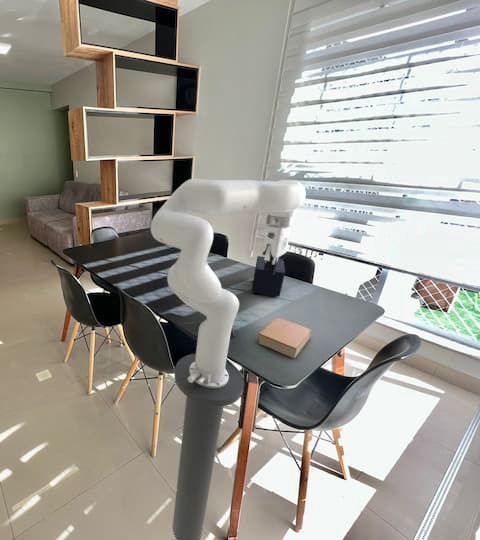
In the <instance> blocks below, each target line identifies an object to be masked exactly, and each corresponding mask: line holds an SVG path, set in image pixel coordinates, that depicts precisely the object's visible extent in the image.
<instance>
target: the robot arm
mask: <svg viewBox="0 0 480 540" xmlns="http://www.w3.org/2000/svg"><path fill="white" fill-rule="evenodd" d="M305 199H306V189H305V187H304V186H303V184H301V182H300V181H298V180H292V179H291V180H289V179H280V180H256V179H255V180H254V179H253V180H252V179H206V178H205V179H204V178H189V179H187V180H186V181H185V182H183V183H182V184H180V186H178V188H176V189H175V190H174V191H173V193H172V194H171V195H170V196H169V197H168V198H167V200H166V201H165V202H164V203H163V205H161V207H160V208H159V209H158V210H157V212H156V213H155V214H154V216H153V218H152V220H151V222H150V223H151V224H150V232H151V235H152V237H153V238H154V240H156V241H157V242H159V243H162V244H164V245H168V246H169V247H173V248H176V249H178V250H180V253H179V256H178V258H177V260H176V261H175V263H173V264H172V266H171V267H170V268H169V269H168V273H167V276H166V277H167V278H166V279H167V285H168V288H169V289H170V291H172V292H173V293H174V294H175V296H176V297H178V298H179V300H181V301H182V302H183V304H185V305H187V306H188V307H190V308H191V309H193V310H195V311H197V312H199V313H200V314H202V315H204V316H205V317H206V319H204V320H203V321H202V322H201V323H200V324H199V327H198V332H197V341H196V350H195V354H196V358H195V362H193V363H192V364H191V366H190V368H189V374H190V376H189V377H188V381H189V382H190V383H192V382H193V381H195V382H196V383H198V384H199V385H201V386H204V387H207V388H220V387H223V386H225V385H226V384H227V382H228V379H229V375H228V372H227V370H226V369H225V365H226V360H227V358H228V352H229V348H230V347H229V346H230V340H231V336H230V335H231V329H232V326H234V322H235V319H236V317H237V314H238V312H239V310H240V309H239V308H240V301H239V299H238V297H237V296H236V295H235V294H234V293H232V292H231V291H229V290H227V289H225V288H223V287H222V283H221V282H220V279H219V278H218V276H217V275H216V273H215V272H214V271H213V270H212V268H211V266H209V264H208V262H207V260H208V256H209V253H210V251H211V248H212V245H213V241H214V230H213V229H214V228H213V227H212V225H211V224H210V223H209V221H207V220H206V219H204V218H202V217H200V216H196V215H193V214H190V213H191V212H192V213H197V214H202V215H207V216H225V215H232V214H233V215H234V214H244V213H245V214H246V213H247V214H259V213H260V214H263V213H267V215H266V221H265V225H266V226H267V227H266V230H265V234H264V239H263V243H262V248H261V255H262V256H264V257H265V258H264V260H265V266H264V271H263V273H264V274H268V275H274V274H275V270H276V265H277V261H278V259H280V257H282V256H283V255H285V254H286V253H287V252H288V247H289V241H290V235H291V228H293V224H294V219H295V215H296V211H297V210H298V209H299V208H300V207H301V206H302V204H304V201H305Z"/></svg>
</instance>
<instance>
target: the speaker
mask: <svg viewBox="0 0 480 540" xmlns="http://www.w3.org/2000/svg"><path fill="white" fill-rule="evenodd" d="M264 258H265V256H260V255H257V256H256V262H255V267H254V272H253V278H252V279H253V281H252V287H251V292H252V293H254V294H264V295H269V296H272V297H274V298H275V297H280V296H281V293H282V288H283V283H284V280H285V279H284V278H285V274H286V272H285V271H286V270H285V263H284V259H283V258H278V261H277V265H276V270H275V274H274V275H268V274H264V273H263V271H264V266H265V260H264Z"/></svg>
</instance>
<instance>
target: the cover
mask: <svg viewBox="0 0 480 540" xmlns="http://www.w3.org/2000/svg"><path fill="white" fill-rule="evenodd" d="M310 332H311V333H312V329H310V328H308V327H305V326H302V325H300V324H297V323H294V322H292V321H288V320H286V319H283V318H280V317H278V316H277V317H275V318H274V319H273V320H272V321H271V322H270V323H269V324H268V325H267V326H265V328H263V330H261V331H260V332H259V334H258V335H259V336H260V335H261V336H264V337H266V338H269V339H271V340H273V341H276V342H278V343H281V344H283V345H285V346H288V347H290V348H293V349H295V350H296V349H297V348H298V347H299V346H300V344H301V343H302V342H303V341H304V339H305V338H306V337H307V335H308V334H309V333H310ZM311 333H310V334H311Z"/></svg>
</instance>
